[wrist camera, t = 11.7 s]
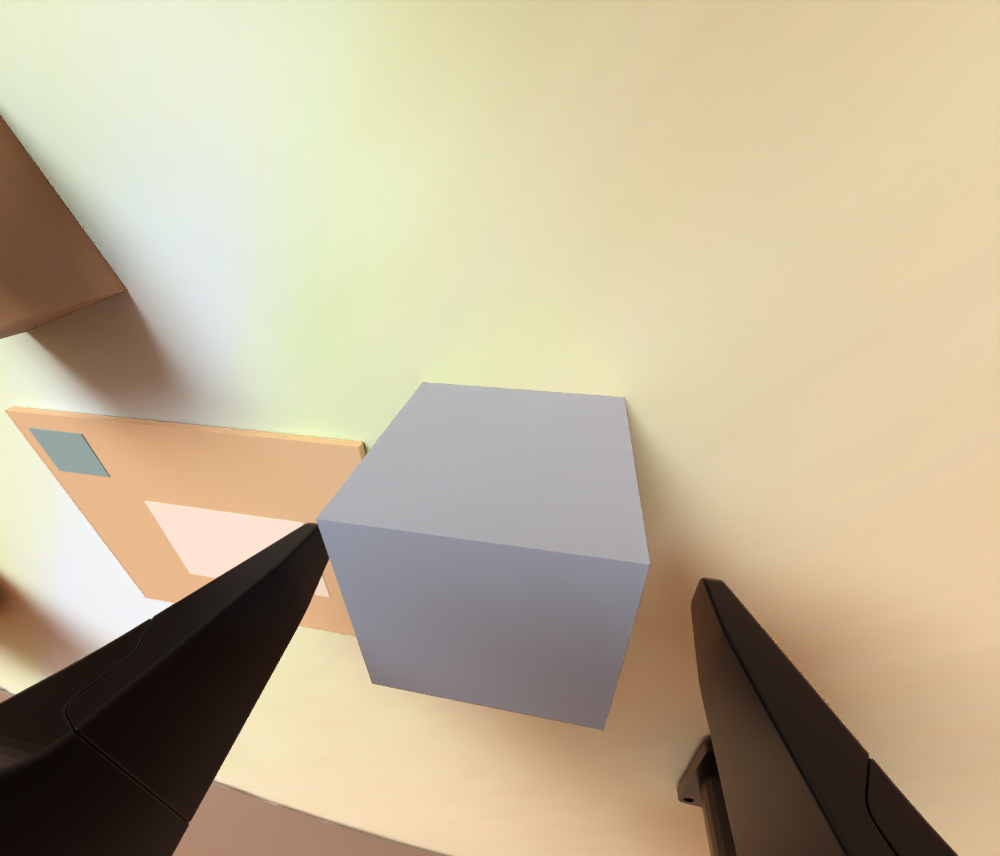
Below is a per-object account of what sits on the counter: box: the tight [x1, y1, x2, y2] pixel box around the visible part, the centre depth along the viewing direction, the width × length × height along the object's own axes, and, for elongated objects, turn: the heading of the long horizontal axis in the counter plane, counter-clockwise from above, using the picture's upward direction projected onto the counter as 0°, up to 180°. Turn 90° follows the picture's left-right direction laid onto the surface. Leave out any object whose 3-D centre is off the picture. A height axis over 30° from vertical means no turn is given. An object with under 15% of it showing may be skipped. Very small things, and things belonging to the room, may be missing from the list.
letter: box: [5, 406, 366, 636], centre depth 17 cm, size 11×14×1 cm
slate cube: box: [316, 382, 650, 730], centre depth 10 cm, size 6×6×6 cm
